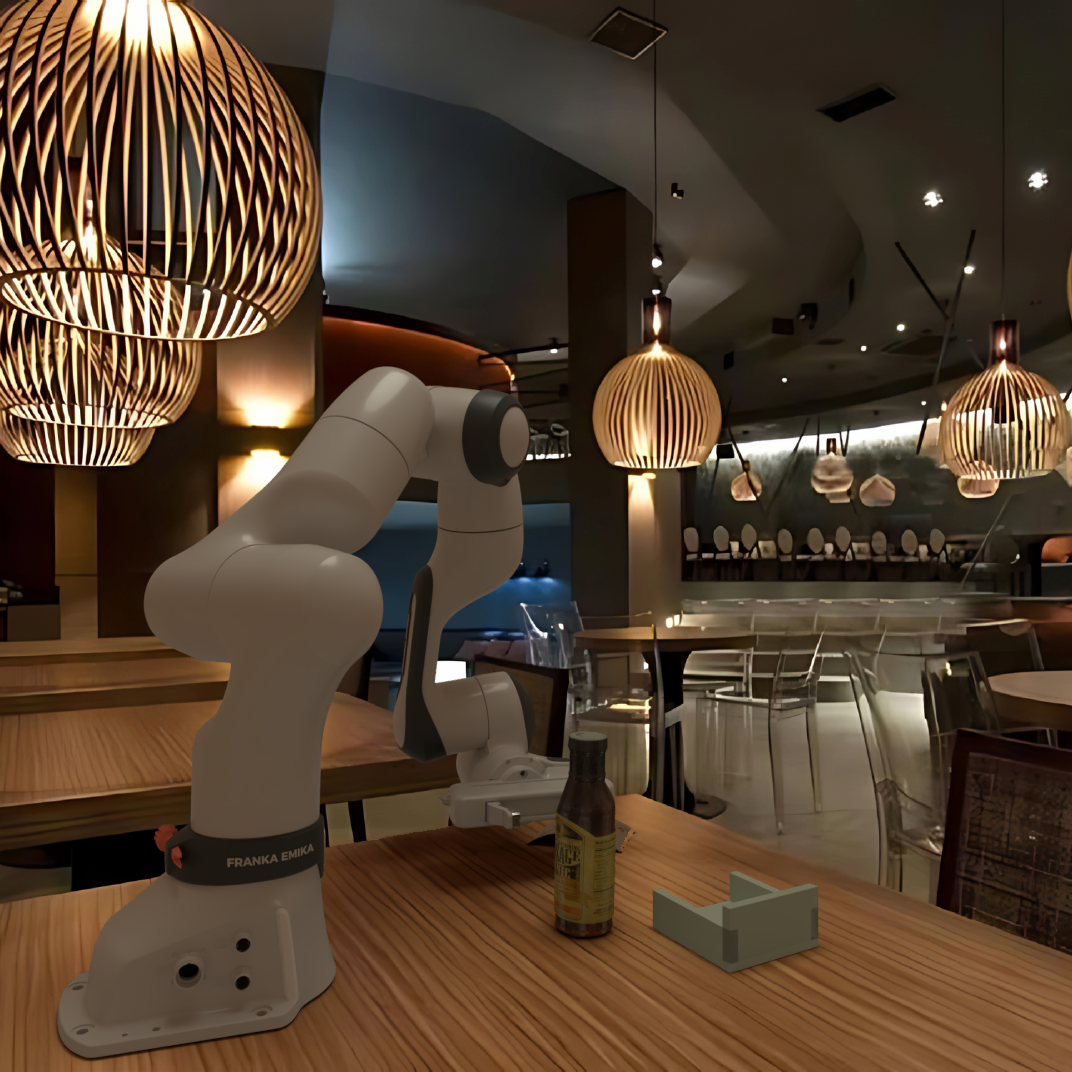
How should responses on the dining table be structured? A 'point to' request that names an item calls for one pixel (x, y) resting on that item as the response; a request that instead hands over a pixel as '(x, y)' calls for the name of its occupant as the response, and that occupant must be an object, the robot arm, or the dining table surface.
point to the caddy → (742, 923)
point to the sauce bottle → (585, 842)
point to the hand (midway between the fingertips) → (554, 817)
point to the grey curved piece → (620, 827)
